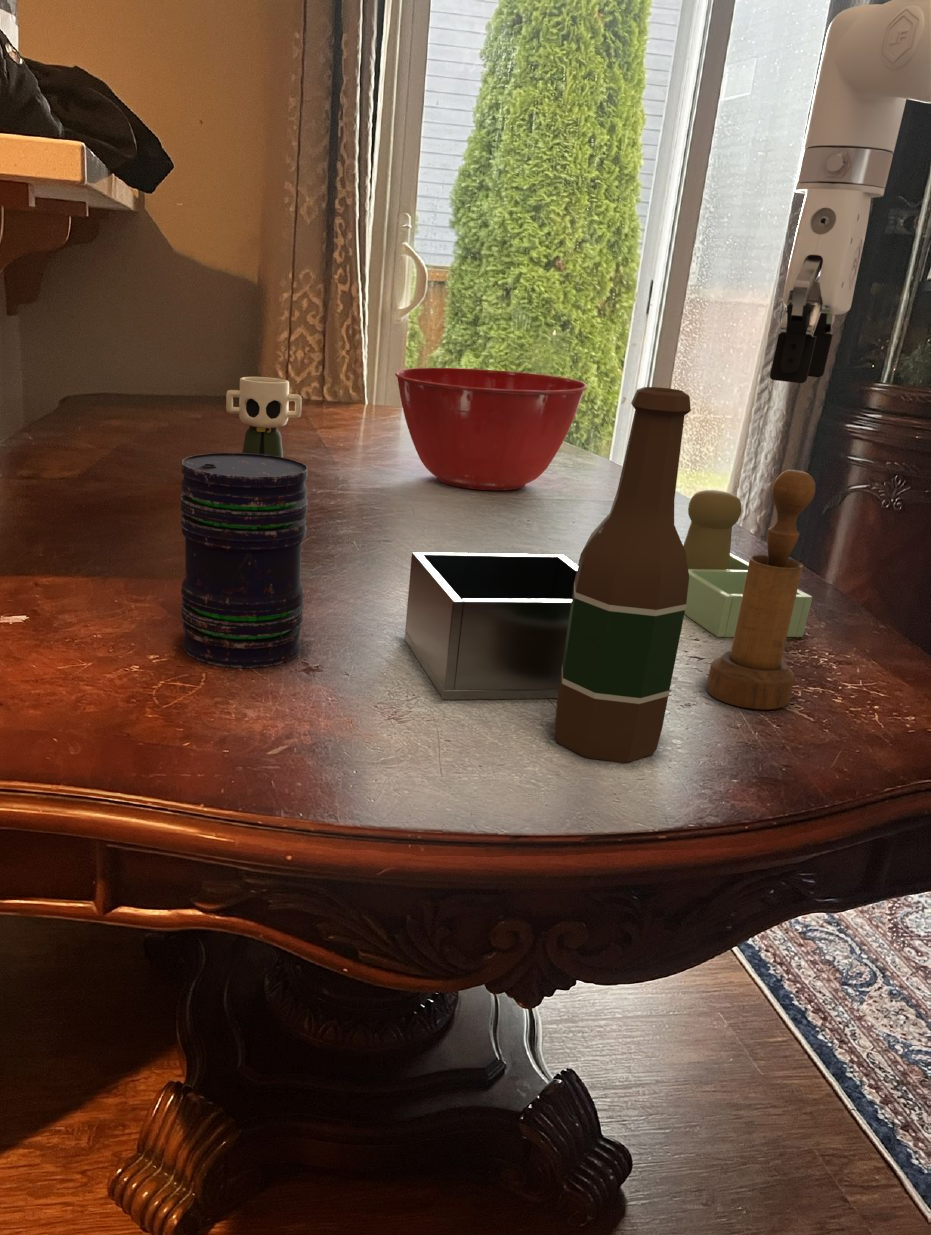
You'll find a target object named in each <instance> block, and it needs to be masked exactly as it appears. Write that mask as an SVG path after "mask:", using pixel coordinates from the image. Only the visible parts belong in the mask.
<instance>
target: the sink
mask: <svg viewBox="0 0 931 1235" xmlns="http://www.w3.org/2000/svg"><path fill="white" fill-rule="evenodd" d="M410 560H411V561H410V570H409V581H408V593H407V604H406V616H405V617H406V618H405V627H404V628H405V631H404V641H405V642H406V644H407V646H409V649H410V650H411V651H412V653H413V655H414V656H415V658H416V660H417V661H418V662H419V664H420V665H421V667H422V669H423V670H424V672H425V673H426V675H427V676H428V678H429V680H430V681H431V683H432V684H433V686H434V687H435V689H436V690H437V692H438V694H439V695H440V696H441V698H442V700H443V701H452V700H453V701H455V700H457V701H458V700H461V701H462V700H463V701H464V700H465V701H466V700H520V699H521V700H526V699H527V700H529V699H557V697H558V690H559V683H560V677H561V670H562V663H563V656H564V650H565V643H566V636H567V629H568V622H569V616H570V609H571V602H572V595H573V589H574V582H575V577H576V572H577V568H578V564H576V563H575V562H573V561H572V560H571V559H569V558H568V557H567V556H565V555H564V554H541V553H537V554H534V553H531V554H530V553H482V552H481V553H479V552H478V553H477V552H469V553H468V552H429V551H428V552H424V551H423V552H418V551H417V552H415V551H414V552H412V551H411V558H410Z"/></svg>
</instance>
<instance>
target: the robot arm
mask: <svg viewBox="0 0 931 1235" xmlns="http://www.w3.org/2000/svg"><path fill="white" fill-rule="evenodd" d="M815 82H816V83H815V88H814V92H813V98H812V102H811V106H810V112H809V117H808V122H807V126H806V130H805V131H806V132H805V136H804V140H803V141H804V142H803V145H802V151H801V155H800V161H799V165H798V170H797V174H796V179H795V185H794V188H793V192H794V193H797V194H803V195H804V198H803V203H802V207H801V211H800V213H799V219H798V223H797V224H798V225H797V226H796V231H795V236H794V240H793V244H792V249H791V254H790V259H789V263H788V267H787V273H786V277H785V283H784V290H783V295H782V296H783V297H782V304H783V306H784V308H785V309H786V310H785V313H784V315H783V319H782V322H781V325H780V332H779V333H778V334H777V341H776V344H775V350H774V354H773V359H772V364H771V368H770V373H769V378H770V380H772V381H778V382H787V383H795V384H804V383H806V382H807V381H808V377H812V378H821V377H823V376H824V374H825V370H826V366H827V362H828V358H829V353H830V348H831V345H832V340H833V336H834V334H833V330H834V326H835V320H836V315H844V314H846V313H848V312H849V311H850V310H851V307H852V303H853V298H854V293H855V288H856V283H857V278H858V274H859V268H860V264H861V258H862V254H863V250H864V249H863V248H864V243H865V239H866V233H867V229H868V223H869V216H870V211H871V210H870V209H871V201H872V198H881V197H884V195H885V192H886V191H885V189H886V186H887V183H888V179H889V174H890V170H891V166H892V161H893V157H894V153H895V149H896V144H897V142H898V136H899V132H900V128H901V124H902V119H903V116H904V115H903V114H904V111H905V106H906V102H907V100H909V101H915V102H920V103H924V104H931V0H889V1H887V2H885V3H881V4H879V3H876V4H875V3H874V4H862V5H856V6H852V7H849V8H845V9H843V10H842V11H840V12H839V13H837V14H836V15H835V16H834V18H833V19H832V20H831V21H830V24H829V26H828V28H827V31H826V35H825V39H824V44H823V48H822V54H821V59H820V63H819V67H818V73H817V77H816V81H815Z"/></svg>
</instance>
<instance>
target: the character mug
mask: <svg viewBox="0 0 931 1235" xmlns="http://www.w3.org/2000/svg"><path fill="white" fill-rule="evenodd" d="M225 396H226V398H225V402H226V403H225V410H226V413H228V414H230V415H231V414H232V415H238V417H239V419H240V422H241V423H242V424H243V425H245V426H248V428H247V429H246V432H245V434H244V440H243V445H242V452H241V453H249V454H262V455H270V456H277V457H283V458H284V448H283V440H282V439H283V438H282V434H281V432H280V431H279V430H278V429H279V428H282V427H284V426H286V425H287V424H288V421H289V419H290V418H292V419H299V418H301V416H302V406H303V398H302V395H300V394H295V393H290V381H289V380H287V379H283V378H278V377H267V376H243V377H240V378H239V389H228V390H226V394H225ZM234 398H239V405H238V406H234ZM290 402H294V410H289V403H290Z"/></svg>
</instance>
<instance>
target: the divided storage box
mask: <svg viewBox="0 0 931 1235" xmlns="http://www.w3.org/2000/svg"><path fill="white" fill-rule="evenodd" d="M748 565H749V561H746V560H745V559H743V558H741V557H740V556H737V555H735V554H733V553H732V552H730V562H729V570H718V569H688V571H689V584H688V593H687V602H686V608H685V613H684V616H686V617H688V618H689V619H690V620H692V621H693V622H695V623H696V624H698V625H699V626H700V627H702V628H703V629H705V630H706V631H708V632H709V633H710V634H712V635H714V636H715V637H716V638H734V635H735V630H736V625H737V620H738V615H739V610H740V605H741V600H742V595H743V590H744V585H745V581H746V576H747V570H748ZM812 601H813V596H812V595H810V594H808V593H806V592H804V591H802V590H801V589H799V588H798V590H797V594H796V598H795V603H794V607H793V611H792V616H791V620H790V625H789V629H788V634H787V638H803V637H804V634H805V630H806V626H807V622H808V618H809V614H810V610H811V606H812V603H813V602H812Z"/></svg>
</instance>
